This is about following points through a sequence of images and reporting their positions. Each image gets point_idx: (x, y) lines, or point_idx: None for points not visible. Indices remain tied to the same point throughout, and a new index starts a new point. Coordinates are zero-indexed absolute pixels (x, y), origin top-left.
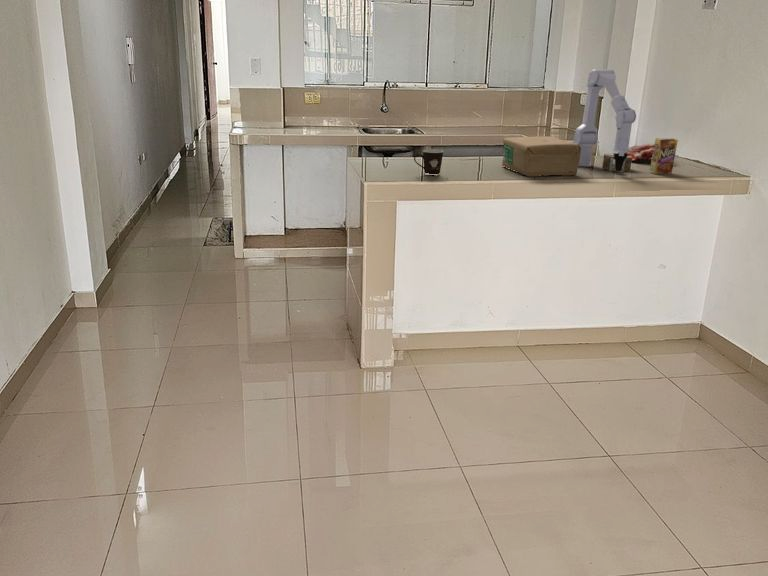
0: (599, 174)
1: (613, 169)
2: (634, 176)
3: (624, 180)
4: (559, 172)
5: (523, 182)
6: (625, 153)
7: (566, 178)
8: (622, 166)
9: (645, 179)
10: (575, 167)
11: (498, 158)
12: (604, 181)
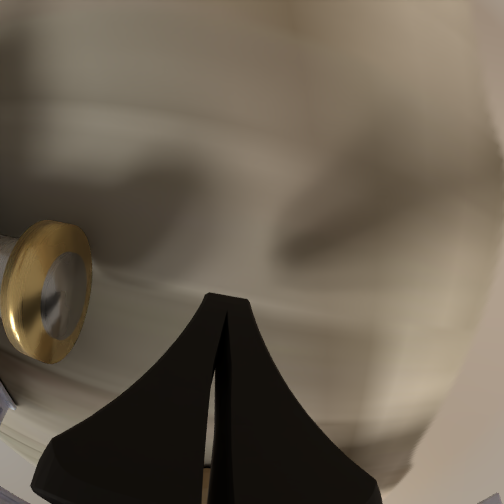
0: None
1: (83, 310)
2: (217, 77)
3: (450, 264)
4: None
5: (381, 495)
6: (54, 501)
7: None
8: (51, 251)
9: (401, 18)
10: None
11: None
12: (441, 380)
